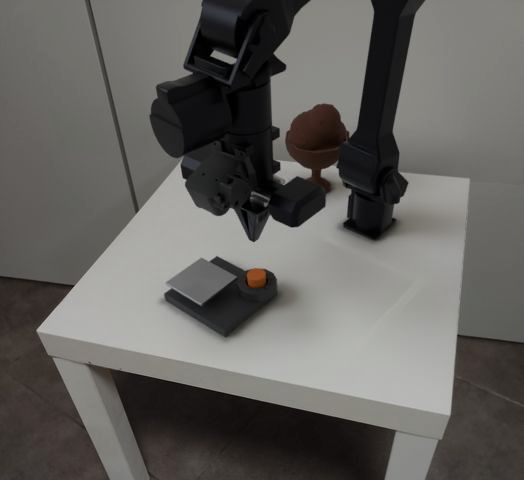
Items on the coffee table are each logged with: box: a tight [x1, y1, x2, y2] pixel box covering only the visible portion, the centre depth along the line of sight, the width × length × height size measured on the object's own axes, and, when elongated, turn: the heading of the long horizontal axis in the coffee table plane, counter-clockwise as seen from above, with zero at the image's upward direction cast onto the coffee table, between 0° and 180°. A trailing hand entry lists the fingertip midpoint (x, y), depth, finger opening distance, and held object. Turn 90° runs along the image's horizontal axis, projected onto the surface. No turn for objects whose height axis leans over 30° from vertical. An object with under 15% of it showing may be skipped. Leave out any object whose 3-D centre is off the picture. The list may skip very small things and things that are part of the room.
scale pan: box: [165, 257, 237, 306], centre depth 77 cm, size 7×7×1 cm
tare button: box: [247, 267, 266, 288], centre depth 76 cm, size 3×3×2 cm
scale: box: [163, 255, 278, 338], centre depth 78 cm, size 13×12×3 cm
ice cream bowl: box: [284, 103, 351, 194], centre depth 92 cm, size 11×11×15 cm
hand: (254, 239), depth 71 cm, fingers closed
